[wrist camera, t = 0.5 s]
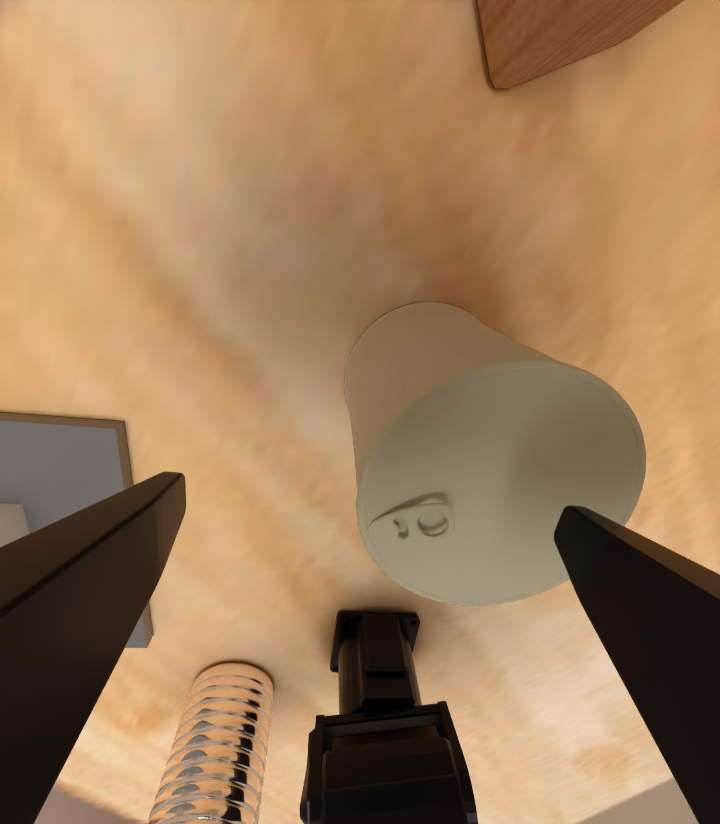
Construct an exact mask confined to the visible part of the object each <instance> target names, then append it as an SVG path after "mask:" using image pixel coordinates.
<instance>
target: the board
mask: <svg viewBox="0 0 720 824" xmlns="http://www.w3.org/2000/svg"><path fill="white" fill-rule="evenodd" d="M131 486H133V483H132V475H131V468H130V460H129V453H128V445H127V438H126V431H125V423H124V421H112V420H98V419H85V418H71V417H58V416H45V415H31V414H18V413H4V412H0V503H4V504H22V506H23V509H24V513H25V517H26V520H27V524H28V528H29V531H30V533H32V532H34V531H36V530H38V529H41V528H43V527H45V526H47V525H49V524H51V523H54V522H56V521H58V520H60V519H62V518H64V517H67V516H69V515H71V514H73V513H75V512H77V511H80V510H82V509H84V508H86V507H88V506H90V505H93V504H95V503H97V502H99V501H101V500H103V499H105V498H108V497H110V496H112V495H114V494H116V493H118V492H121V491H123V490H125V489H127V488H129V487H131ZM152 636H153V631H152V624H151V616H150V609H149V602H148V603H147V605H146V607H145V609H144V611H143V613H142V615H141V617H140V619H139V621H138V623H137V625H136V627H135V629H134V631H133V633H132V634H131V636H130V638H129V640H128V642H127V644H126V646H125V648H147V647H148V645H149V643H150V641H151V639H152Z"/></svg>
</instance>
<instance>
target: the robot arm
mask: <svg viewBox="0 0 720 824" xmlns="http://www.w3.org/2000/svg"><path fill="white" fill-rule="evenodd" d="M185 510H186V486H185V476H184V475H183V474H182V473H177V472H162V473H159V474H157V475H155V476H153V477H151V478H149V479H147V480H144V481H142V482H140V483H138V484H136V485H134V486H131V487H129V488H127V489H125V490H123V491H121V492H118V493H116V494H114V495H112V496H110V497H108V498H105V499H103V500H101V501H99V502H97V503H95V504H93V505H90V506H88V507H86V508H84V509H82V510H80V511H77V512H75V513H73V514H71V515H69V516H67V517H64V518H62V519H60V520H58V521H56V522H54V523H51V524H49V525H47V526H45V527H43V528H41V529H38V530H36V531H34V532H32V533H30V534H28V535H25V536H23V537H21V538H19V539H17V540H15V541H13V542H10V543H8V544H6V545H4V546H2V547H0V824H34V822H35V820H36V818H37V816H38V814H39V813H40V810H41V809H42V807H43V805H44V803H45V801H46V799H47V797H48V795H49V793H50V791H51V789H52V787H53V786H54V784H55V782H56V780H57V778H58V776H59V774H60V772H61V770H62V768H63V766H64V764H65V762H66V760H67V758H68V756H69V755H70V753H71V751H72V749H73V747H74V745H75V743H76V741H77V739H78V737H79V735H80V733H81V731H82V729H83V727H84V725H85V724H86V722H87V720H88V718H89V716H90V714H91V712H92V710H93V708H94V706H95V704H96V702H97V700H98V698H99V696H100V695H101V693H102V691H103V689H104V687H105V685H106V683H107V681H108V679H109V677H110V675H111V673H112V671H113V669H114V667H115V665H116V664H117V662H118V660H119V658H120V656H121V654H122V652H123V650H124V648H125V646H126V644H127V642H128V640H129V638H130V636H131V634H132V633H133V631H134V629H135V627H136V625H137V623H138V621H139V619H140V617H141V615H142V613H143V611H144V609H145V607H146V605H147V603H148V602H149V600H150V598H151V596H152V594H153V592H154V590H155V588H156V586H157V584H158V582H159V580H160V577H161V575H162V573H163V570H164V568H165V565H166V562H167V560H168V557H169V554H170V552H171V549H172V546H173V544H174V541H175V539H176V536H177V533H178V531H179V528H180V525H181V523H182V520H183V517H184V514H185ZM554 542H555V545H556V547H557V549H558V552H559V554H560V556H561V559H562V561H563V563H564V566H565V568H566V570H567V573H568V575H569V577H570V580H571V582H572V585H573V587H574V589H575V592H576V594H577V596H578V598H579V600H580V602H581V604H582V606H583V608H584V610H585V612H586V614H587V616H588V618H589V620H590V621H591V623H592V625H593V627H594V629H595V631H596V633H597V634H598V636H599V638H600V640H601V642H602V644H603V646H604V648H605V649H606V651H607V653H608V655H609V657H610V659H611V661H612V662H613V664H614V666H615V668H616V670H617V672H618V674H619V675H620V677H621V679H622V681H623V683H624V685H625V687H626V689H627V690H628V692H629V694H630V696H631V698H632V700H633V702H634V703H635V705H636V707H637V709H638V711H639V713H640V715H641V716H642V718H643V720H644V722H645V724H646V726H647V728H648V730H649V731H650V733H651V735H652V737H653V739H654V741H655V743H656V744H657V746H658V748H659V750H660V752H661V754H662V756H663V757H664V759H665V761H666V763H667V765H668V767H669V769H670V770H671V772H672V774H673V776H674V778H675V780H676V782H677V784H678V785H679V787H680V789H681V791H682V793H683V795H684V797H685V798H686V800H687V802H688V804H689V806H690V808H691V809H692V811H693V813H694V815H695V817H696V819H697V821H698V823H699V824H720V575H719V574H717V573H715V572H713V571H711V570H709V569H707V568H705V567H703V566H701V565H699V564H697V563H695V562H693V561H691V560H689V559H687V558H686V557H684V556H682V555H680V554H678V553H676V552H674V551H672V550H670V549H668V548H666V547H664V546H662V545H660V544H658V543H656V542H654V541H652V540H650V539H648V538H646V537H644V536H642V535H640V534H638V533H636V532H634V531H632V530H630V529H628V528H626V527H624V526H622V525H620V524H618V523H616V522H614V521H612V520H610V519H608V518H606V517H604V516H602V515H600V514H598V513H596V512H594V511H592V510H590V509H588V508H586V507H583V506H573V505H569V506H566V507H565V508H564V509H563V511H562V514H561V516H560V518H559V521H558V523H557V526H556V528H555V531H554ZM419 625H420V619H419V616H418V615H417V614H411V613H371V612H340V613H338V614H337V616H336V623H335V631H334V639H333V646H332V654H331V661H330V670H331V671H332V672H339V715H332V716H325V715H317V716H316V724H315V729H313V731H312V732H310V733H309V742H308V760H307V769H306V774H305V780H304V786H303V791H302V797H301V803H300V818H301V820H302V821H303V823H304V824H478V819H477V811H476V805H475V799H474V794H473V789H472V785H471V780H470V776H469V772H468V768H467V765H466V762H465V758H464V755H463V752H462V749H461V746H460V743H459V740H458V737H457V734H456V731H455V728H454V725H453V722H452V719H451V716H450V713H449V710H448V706H447V703H446V701H440V702H438V703H437V704H429V705H422V702H421V697H420V692H419V687H418V682H417V677H416V672H415V667H414V662H413V657H412V652H413V648H414V644H415V640H416V636H417V632H418V629H419Z"/></svg>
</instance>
